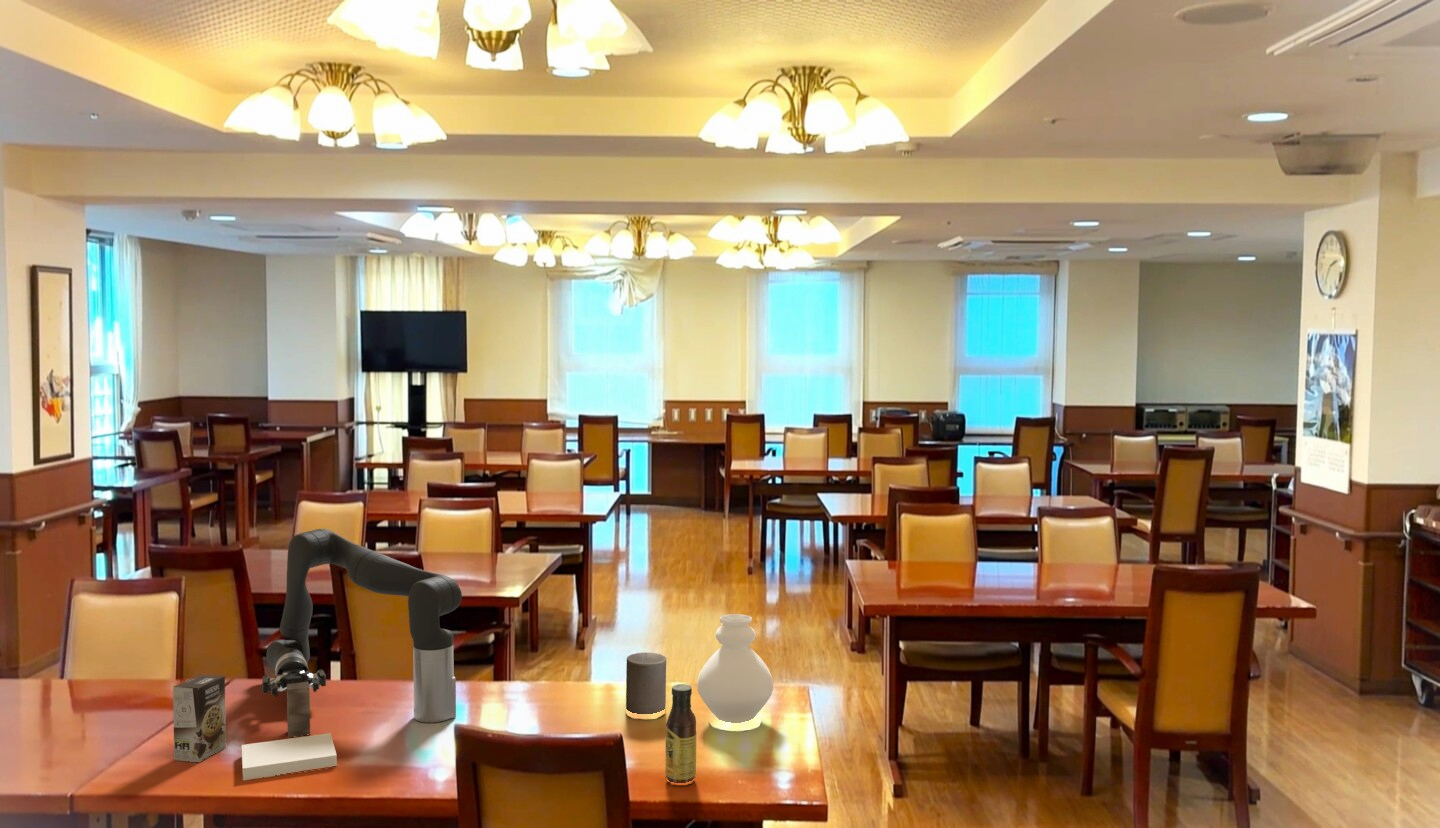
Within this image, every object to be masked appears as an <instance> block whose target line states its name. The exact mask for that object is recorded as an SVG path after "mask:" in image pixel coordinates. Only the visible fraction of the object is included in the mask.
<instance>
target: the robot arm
mask: <svg viewBox="0 0 1440 828" xmlns="http://www.w3.org/2000/svg"><path fill="white" fill-rule="evenodd" d="M286 558H287V562H286V563H287V565H286V566H287V567H286V593H285V603H284V606H283V612H282V616H281V620H280V626H279V631H280V634H281V635H282V636H283V637H285V638H288V639H276V640H273V641H272V642H271V643H270V644H269V645H268V646H267V649H266V654H265V655H266V660H267V664H268V666H269V667H271V668H272V669H273V670H274V671H275V674H274V675H275V676H274V678H271V677H269V675H262V681H261V684H262V685H261V687H262V689H261V690H262V692H261V693H263V694H267V693H268V692H270V695H271V696H274V697H278V696H279V695H278V694H279V693H278V692H283V691H287V684H292V683H301V682H308V684H309V689H310V688H311V689H312V692H313V693H315V692H317V691H318V690H320V686H321V687H326V686H327V674H326V673H325V671H324V670H323V669H318V670H317V671H316V673H312V672H311V671H310V670H309V666H308V663H309V661H310V656H311V652H310V645H309V642H310V641H309V630H310V625H311V620H312V616H313V610H314V608H313V607H314V605H313V604H314V603H313V600H312V597H311V595H310V593H309V590H308V588H307V582H306V581H307V576H308V573H309V571H310V569H312V568H316V567H320V566H323V565H329V564H330V565H335V566H338V567H340V568H343V569H346V573H347V575H348V578H349V579H350V580H351V582H352V583H354V584H355V585H356V586H357V587H358V586H359V587H361V588H363V589H366V590H367V591H370V592H372V593H376V594H381V595H388V596H401V597H407V598H408V599H407V608H408V623H409V632H410V636H411V639H412V643H413V644H412V645H413V646H412V647H413V648H412V649H413V652H412V653H413V658H412V659H413V662H412V663H413V718H414V720H416V721H417V722H420V723H421V722H422V723H439V722H444V721H447V720H450V719H454V718H456V717H457V689H456V688H457V686H456V684H457V683H456V682H457V681H456V680H457V679H456V676H455V674H454V669H455V667H454V665H455V664H454V661H455V660H454V633H453V632H452V631H451V630H449V629H446V628H441V625H440V624H441V623H440V617H441V616H444V615H447V614H450V613H451V612H453V611H456V609H457V608H459V606H460V604H461V602H462V598H463V596H462V595H463V594H462V590H461V588H460V586H459V584H458V583H457V582H456V581H455V580H454V579H453V578H451V577H450V576H448V575H444V574H440V573H435V572H432V571H429V570H424V569H422V568H417V567H415V566H412V565H410V564H408V563H405V562H403V561H400V560H397V559H395V558H392V557H390V556H388V555H385V554H383V553H381V552H378V551H376V550H372V549H370V548H367V547H364V546H362V545H359V544H357V543H354V542H352V541H349V539H347V538H344V537H343V536H341V535H339V534H338V533H336V532H334V531H332V530H330V529H326V528H317V529H313V530H308V531H303V532H301V533H298V534H295V535H294V536H293V537H292V538H291V539H290V541H289V544H288V549H287V557H286Z"/></svg>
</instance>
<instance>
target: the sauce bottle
mask: <svg viewBox="0 0 1440 828" xmlns="http://www.w3.org/2000/svg"><path fill="white" fill-rule="evenodd" d="M692 691H693V690H692V686H691V685H689V684H687V683H686V684H685V683H678V684H675V685H673V686H671V695H672V704H671V709H670V712H669V714H668V717H667V720H666V723H665V779H666V778H667V779H668V780H669V781H670V782H674V783H686V782H689V781H692V780H693V779H694V778H695V779H696V775H697V718H696V715H695V713H694V712H693V710H692V703H691V700H692V699H691V698H692V693H693V692H692Z"/></svg>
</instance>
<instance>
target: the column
mask: <svg viewBox="0 0 1440 828" xmlns="http://www.w3.org/2000/svg"><path fill="white" fill-rule="evenodd" d="M286 706H287V707H286V709H287V710H286V711H287V712H286V714H287V717H286V719H287V736H288V738H289V737H293V738H295V737H294V736H300V737H302V736H301V735H307V734H310V735H311V709H310V707H311V705H310V688H309V684H308V682H301V683H292V684H287V690H286Z"/></svg>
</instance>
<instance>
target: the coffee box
mask: <svg viewBox="0 0 1440 828" xmlns="http://www.w3.org/2000/svg"><path fill="white" fill-rule="evenodd" d="M225 677H226V676H224V675H216V674H215V675H214V674H213V675H211V674H207V675H206V674H198V675H197V676H194V677H193V678H189V679H187V680H185V681H183V682H181V683H178V684H175V685H174V686H172V690H173V691H172V694H173V695H172V697H173V699H172V701H173V702H172V703H173V704H172V705H173V707H172V708H173V713H172V714H173V717H172V718H173V760H174V761H181V762H188V761H189V762H188V763H196V762H198V763H201V762H203V761H205V760H206V759H208V758H210V757H212V756H213V754H214V755H216V754H218V753H219V752H221V751H222V749H223V750H225V749H226V748H227V731H226V729H227V726H226V725H227V724H226V722H227V721H226V717H227V716H226V678H225ZM224 748H225V749H224ZM215 753H216V754H215ZM211 755H212V756H211ZM209 756H210V757H209ZM204 759H205V760H204Z"/></svg>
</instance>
